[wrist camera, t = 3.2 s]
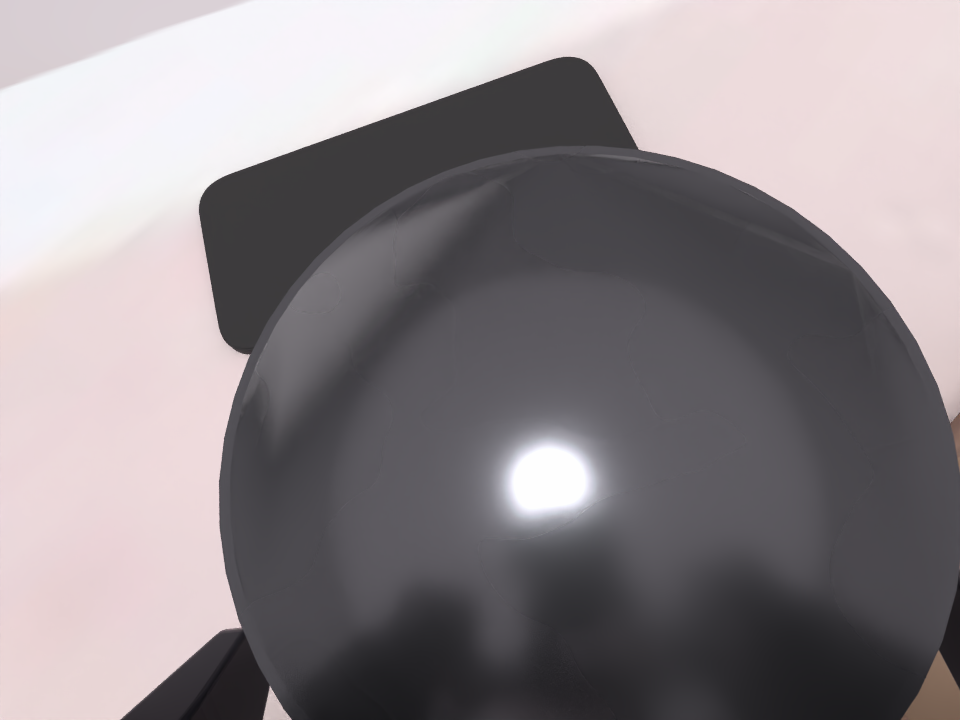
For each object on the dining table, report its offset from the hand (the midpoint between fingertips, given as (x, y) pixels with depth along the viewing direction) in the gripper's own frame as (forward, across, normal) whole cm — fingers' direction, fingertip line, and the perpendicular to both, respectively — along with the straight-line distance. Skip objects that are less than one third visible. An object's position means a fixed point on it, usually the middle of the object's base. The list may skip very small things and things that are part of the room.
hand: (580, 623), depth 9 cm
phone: (+17, +4, -3) cm, 17 cm away
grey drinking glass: (+7, 0, +5) cm, 9 cm away
